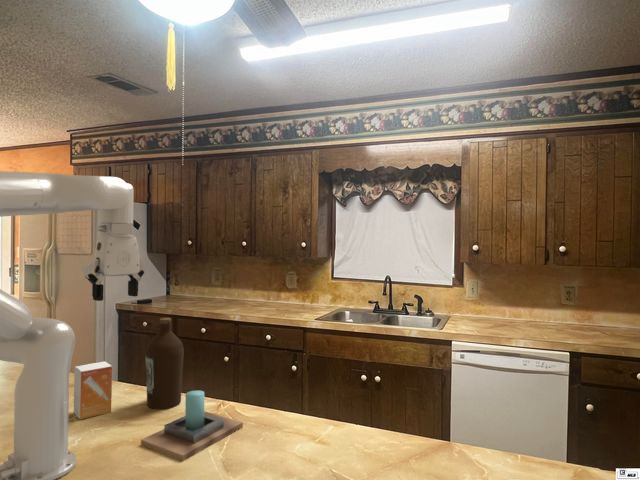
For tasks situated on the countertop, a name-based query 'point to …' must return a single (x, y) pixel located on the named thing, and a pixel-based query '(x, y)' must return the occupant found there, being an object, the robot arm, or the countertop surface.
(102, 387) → the small box
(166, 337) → the olive oil
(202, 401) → the teal peg
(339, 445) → the countertop surface
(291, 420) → the countertop surface
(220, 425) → the collar board
